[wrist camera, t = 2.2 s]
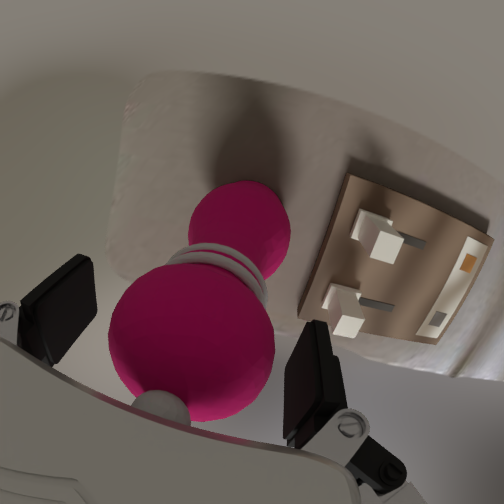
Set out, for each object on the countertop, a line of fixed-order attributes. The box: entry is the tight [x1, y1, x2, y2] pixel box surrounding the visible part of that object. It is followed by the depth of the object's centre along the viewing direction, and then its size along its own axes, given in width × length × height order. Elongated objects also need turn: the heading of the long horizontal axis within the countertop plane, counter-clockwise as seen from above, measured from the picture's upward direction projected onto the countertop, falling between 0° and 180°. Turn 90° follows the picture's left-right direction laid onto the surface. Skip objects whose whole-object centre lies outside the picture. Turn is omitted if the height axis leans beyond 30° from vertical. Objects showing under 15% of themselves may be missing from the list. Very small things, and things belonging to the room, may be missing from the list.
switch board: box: [297, 172, 494, 345], centre depth 23 cm, size 18×14×2 cm
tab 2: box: [349, 208, 404, 264], centre depth 19 cm, size 3×2×4 cm
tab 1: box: [321, 283, 365, 338], centre depth 22 cm, size 3×2×4 cm
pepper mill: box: [108, 181, 291, 426], centre depth 15 cm, size 7×7×20 cm
